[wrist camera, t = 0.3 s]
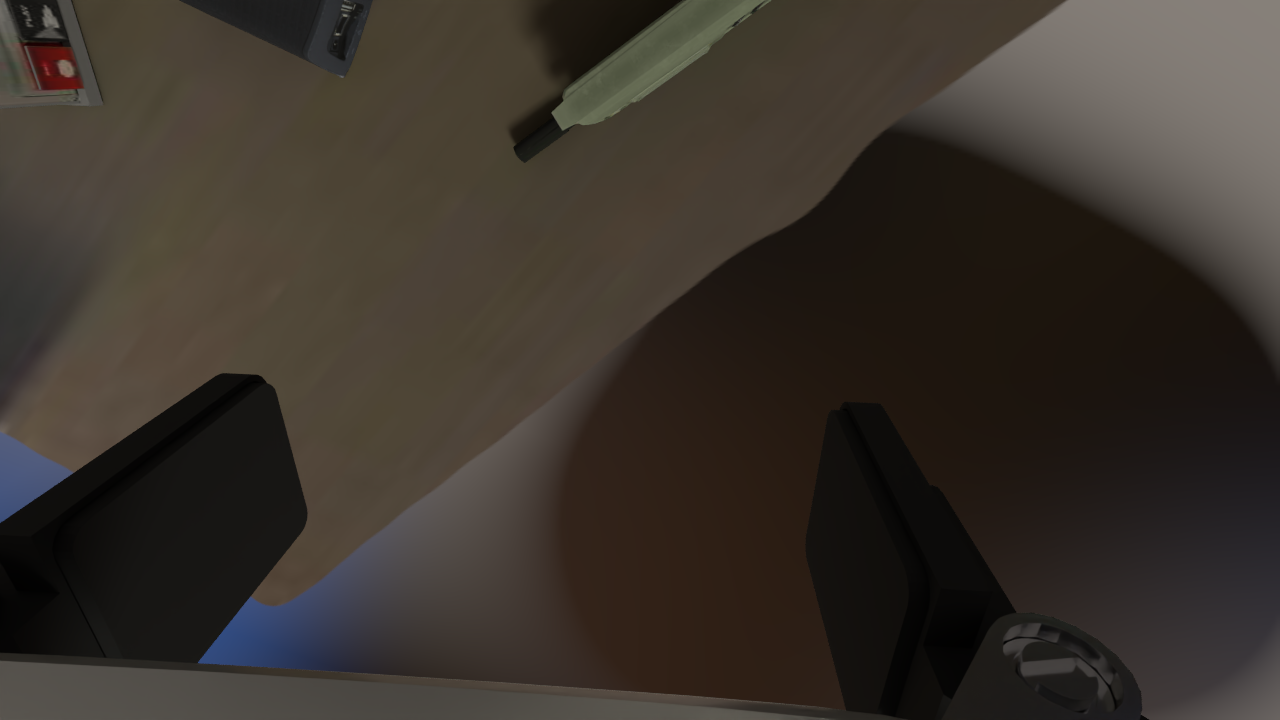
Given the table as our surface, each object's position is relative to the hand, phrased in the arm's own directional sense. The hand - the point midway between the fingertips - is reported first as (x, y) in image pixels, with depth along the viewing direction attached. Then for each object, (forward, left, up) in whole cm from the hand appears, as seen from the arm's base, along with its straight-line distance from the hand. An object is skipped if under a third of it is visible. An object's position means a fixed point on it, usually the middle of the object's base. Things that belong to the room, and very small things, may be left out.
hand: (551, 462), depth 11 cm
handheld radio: (-5, +5, -37) cm, 38 cm away
